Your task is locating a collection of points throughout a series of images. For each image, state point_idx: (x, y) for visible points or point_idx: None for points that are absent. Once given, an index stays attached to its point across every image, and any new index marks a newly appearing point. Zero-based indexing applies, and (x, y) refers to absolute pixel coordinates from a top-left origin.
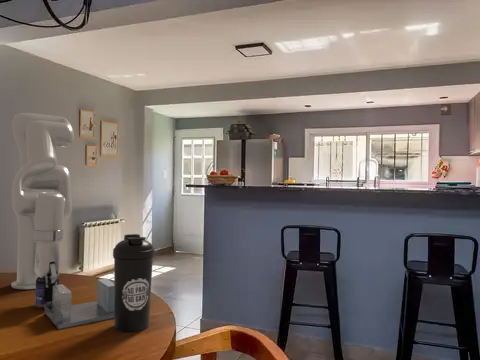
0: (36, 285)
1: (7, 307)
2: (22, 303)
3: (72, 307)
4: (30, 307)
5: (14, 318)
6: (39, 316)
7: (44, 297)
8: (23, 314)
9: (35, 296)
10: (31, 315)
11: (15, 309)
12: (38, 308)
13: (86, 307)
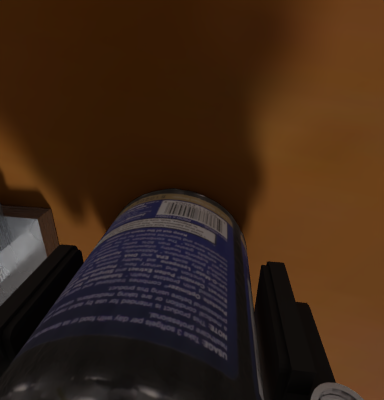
0: (103, 306)
1: (348, 6)
2: (368, 140)
3: None
4: (222, 165)
5: (18, 16)
6: (8, 167)
7: (42, 264)
8: (85, 92)
9: (164, 225)
10: (43, 133)
11: (240, 62)
12: (140, 197)
13: None
